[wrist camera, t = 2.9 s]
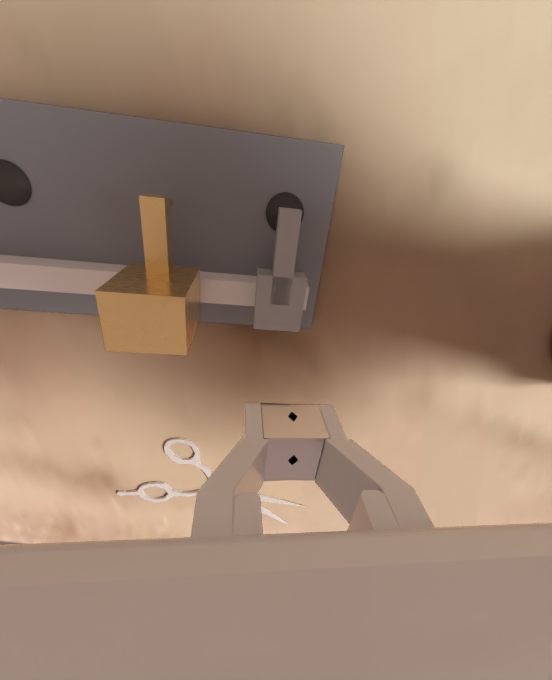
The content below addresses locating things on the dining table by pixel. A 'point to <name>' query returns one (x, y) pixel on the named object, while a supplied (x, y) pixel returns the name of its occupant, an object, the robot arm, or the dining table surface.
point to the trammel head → (151, 293)
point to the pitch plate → (185, 213)
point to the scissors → (174, 492)
